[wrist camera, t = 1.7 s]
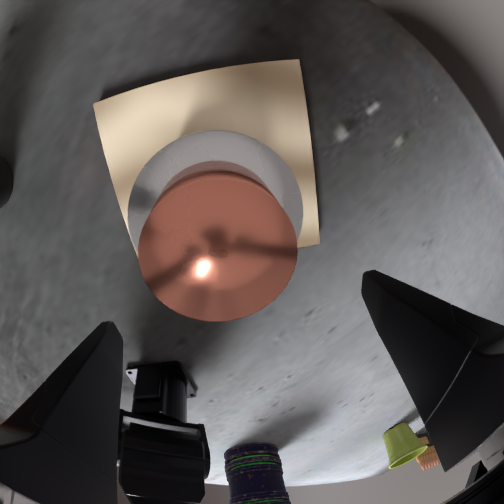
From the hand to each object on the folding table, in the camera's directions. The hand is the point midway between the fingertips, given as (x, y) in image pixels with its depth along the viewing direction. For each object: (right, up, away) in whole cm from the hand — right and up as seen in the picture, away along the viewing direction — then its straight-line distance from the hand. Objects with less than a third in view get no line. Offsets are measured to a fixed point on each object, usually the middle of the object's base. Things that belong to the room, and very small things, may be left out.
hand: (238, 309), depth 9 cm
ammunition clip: (+47, -50, +49) cm, 84 cm away
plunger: (-2, +5, +5) cm, 7 cm away
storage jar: (0, -34, +33) cm, 47 cm away
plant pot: (+32, -38, +40) cm, 64 cm away
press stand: (-2, +8, +10) cm, 13 cm away
